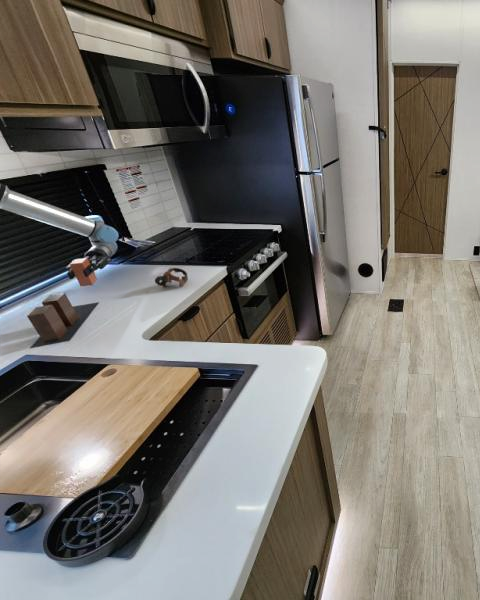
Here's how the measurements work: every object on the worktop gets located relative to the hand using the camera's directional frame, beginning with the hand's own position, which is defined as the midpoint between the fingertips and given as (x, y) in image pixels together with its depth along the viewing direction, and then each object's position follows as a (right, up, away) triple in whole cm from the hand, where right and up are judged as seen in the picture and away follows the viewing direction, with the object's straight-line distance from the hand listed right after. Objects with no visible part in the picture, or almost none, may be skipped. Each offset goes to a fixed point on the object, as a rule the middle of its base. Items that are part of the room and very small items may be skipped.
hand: (77, 274), depth 132 cm
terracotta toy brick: (-2, -3, +7) cm, 8 cm away
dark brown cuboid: (+17, -22, -24) cm, 37 cm away
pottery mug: (+32, -4, +10) cm, 34 cm away
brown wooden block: (+13, -18, -17) cm, 28 cm away
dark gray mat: (+13, -19, -17) cm, 28 cm away
